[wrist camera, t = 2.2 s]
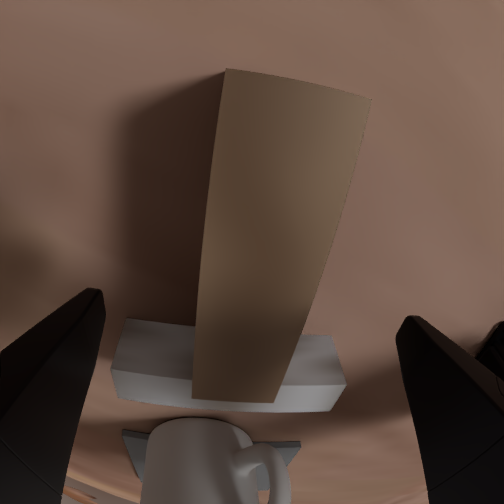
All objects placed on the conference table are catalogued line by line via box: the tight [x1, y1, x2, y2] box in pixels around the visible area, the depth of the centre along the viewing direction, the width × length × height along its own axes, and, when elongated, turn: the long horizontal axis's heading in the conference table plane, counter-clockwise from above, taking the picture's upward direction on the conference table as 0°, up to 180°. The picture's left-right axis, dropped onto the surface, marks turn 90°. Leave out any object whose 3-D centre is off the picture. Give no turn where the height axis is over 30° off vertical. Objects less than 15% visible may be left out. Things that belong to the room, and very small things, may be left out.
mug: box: [140, 418, 291, 504], centre depth 17 cm, size 12×8×11 cm
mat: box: [122, 430, 301, 491], centre depth 27 cm, size 15×14×1 cm
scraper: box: [111, 68, 372, 412], centre depth 12 cm, size 11×14×4 cm
